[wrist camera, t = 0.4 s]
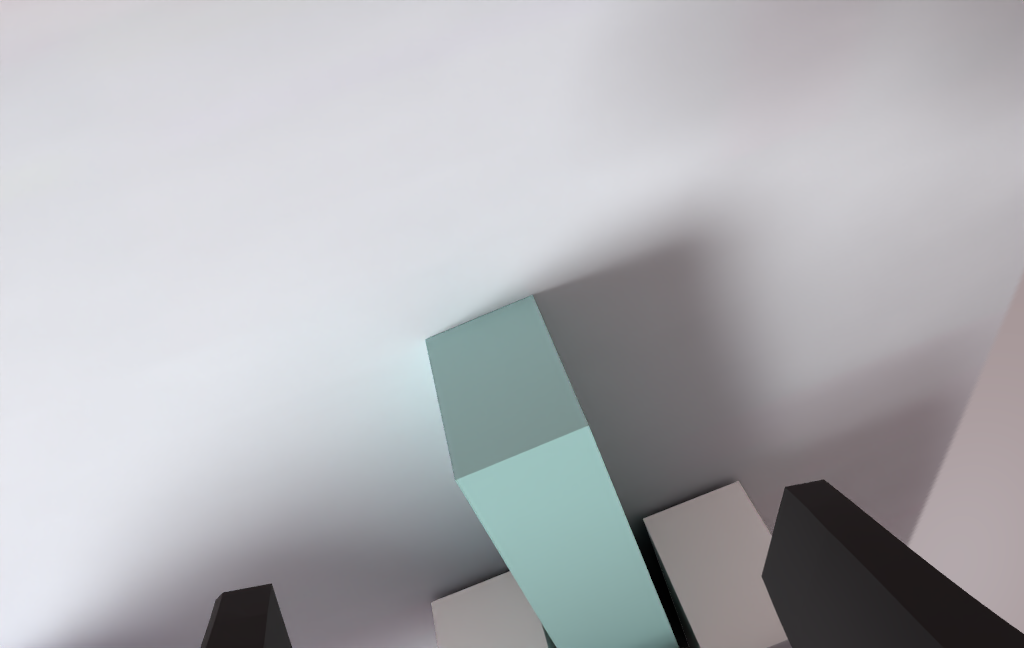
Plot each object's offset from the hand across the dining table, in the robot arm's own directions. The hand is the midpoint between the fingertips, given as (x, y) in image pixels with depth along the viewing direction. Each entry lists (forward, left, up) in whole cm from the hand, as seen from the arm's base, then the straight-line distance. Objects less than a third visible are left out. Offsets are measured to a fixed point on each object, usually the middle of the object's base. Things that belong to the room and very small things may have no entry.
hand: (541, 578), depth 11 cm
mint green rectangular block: (-7, -8, -10) cm, 14 cm away
